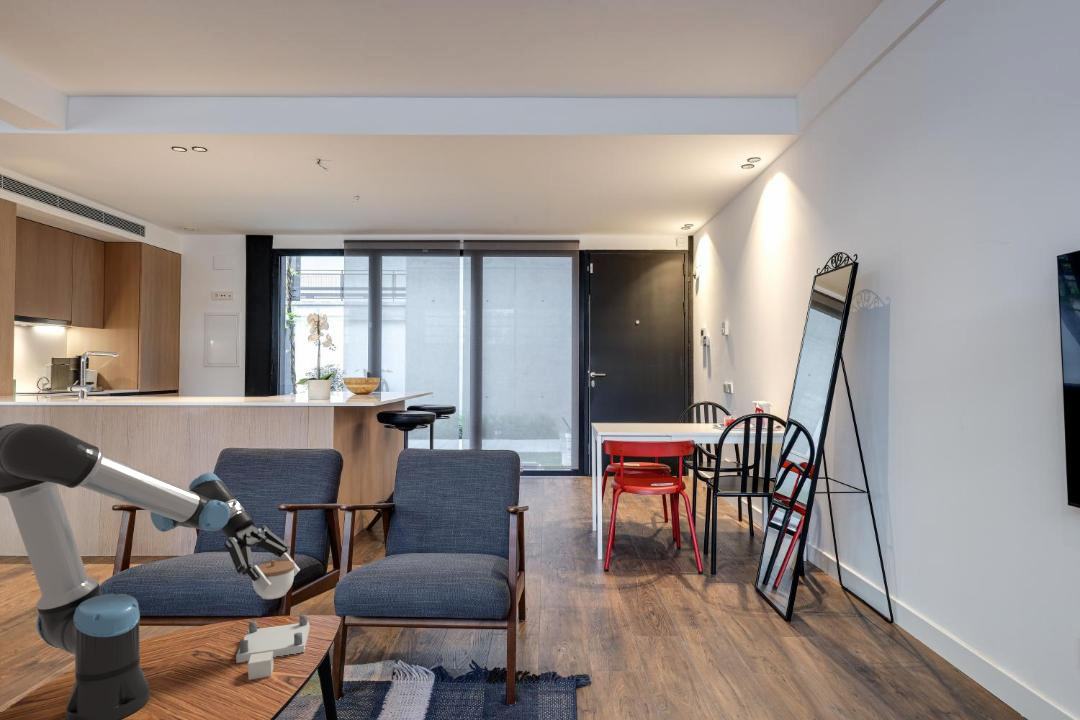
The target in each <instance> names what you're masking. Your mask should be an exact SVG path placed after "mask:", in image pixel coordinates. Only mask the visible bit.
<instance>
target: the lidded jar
mask: <svg viewBox="0 0 1080 720" xmlns="http://www.w3.org/2000/svg"><path fill="white" fill-rule="evenodd" d="M294 563H295V561H294V562H291V561H284V560H283V561H279V560H275V559H272V560H270V561H267V562H263V563H260V564H256V565H257V566H258V568H259V569H260V570H261V571H262V572H263V574H264V575H265V576H266V577H267V579H268V580H269V581H270V582H271V585H270V586H269V587H268V588H267V590H266V591H264V592H263V590H262V589H261V588H260V587H259V585H258V584H257V583H256V582H255V581H253V580H252V579H251V581H252V586H253V590H254V591H255V593H256V594H257V595H258V596H259V597H261V599H263V600H274V599H275V600H276V599H279V598H282V597H284V596H286V595H287V593H288V591H289V590H290V589H291V587H292V586H293V582H294V579H295V576H294V568H295V564H296V563H295V564H294Z"/></svg>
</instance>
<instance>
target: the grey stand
mask: <svg viewBox="0 0 1080 720" xmlns="http://www.w3.org/2000/svg"><path fill="white" fill-rule="evenodd" d="M298 617H299V619H298V620H299V623H291V624H285V625H284V624H283V625H276V626H269V627H263V628H262V627H260V628H258V621H257V620H251V621H249V622H248V630H247V632H246V634H245V635H244V637H243V640H241V641H240V642H238V643H239V644H238V645H239V648H238V651H237V653H236V655H235V656H236V658H235V659H236V664H239V663H240V664H241V663H247V662H249V660H250V657H251V655H252V654H258V653H264V652H271V651H273V657H274V658H277V657H276V656H281V657H284V656H283V655H288V656H290V655H289V654H294V655H297V654H296V653H301V652H304V653H305V651H304V650H306V647H305V645H306V646H307V642H306V641H308V638H307V637H309V634H308V633H309V632H310V629H311V628H310V622H309V621H308V615H307V614H305V613H304V614H300V615H298ZM301 654H302V653H301ZM246 661H247V662H246Z"/></svg>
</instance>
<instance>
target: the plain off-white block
mask: <svg viewBox="0 0 1080 720" xmlns="http://www.w3.org/2000/svg"><path fill="white" fill-rule="evenodd" d="M274 666H275V665H274V658H273V651H271V652H264V653H258V654H252V655H251V657H250V660H249V661H248V662H247V669H248V670H247V672H248V675H247V676H248V680H249V681H251V680H256V679H261V678H262V679H263V678H267V677H272V675H273V670H274Z"/></svg>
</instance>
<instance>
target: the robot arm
mask: <svg viewBox="0 0 1080 720" xmlns="http://www.w3.org/2000/svg"><path fill="white" fill-rule="evenodd" d="M58 485H61V486H64V487H67V488H69V489H74V488H78V487H82V488H85V489H87V490H90V491H93V492H96V493H97V494H101V495H104V496H107V497H108V498H112V499H115V500H116V501H117V500H118V501H121V502H123V503H127V504H128V505H131V506H134V507H137V508H139V509H143V510H146V511H148V512H150V514H149V515H150V520H151V522H152V524H153V526H154V528H156V529H157V531H160V532H163V533H165V532H169V531H170V530H174V529H175V528H177V527H183V528H187V529H189V528H191V529H197V530H202V531H205V532H216V531H219V530H221V531H222V533H223V534H224V535H225V536H226V538H227V540H226V541H225V542H224V543H223V545H224V547H225V548H226V550H228V552H229V555H230V557H231V560H232V562H233V566H234V568H235V570H236V572H237V573H238V574H242V575H243V576H246V575H248V576H249V577H250V579H251V581H252V580H253V581H255V582H256V583H257V584H258V585H259V587H260V588H261V589H262V590H263V592H264V591H266V590H267V588H268V587H269V586H270V585H271V582H270V581H269V580H268V579H267V577H266V576H265V575H264V574H263V572H262V571H261V570H260V569H259V568H258V566H257V565H258V564H255V565H254V563H253V556H252V550H251V549H252V548H254V547H256V548H262V549H263V550H265V551H267V552H269V553H271V554H273V555H275V556H277V557H279V558H278V561H283V560H284V561H291V562H294V564H295V568H294V577H295V576H296V575H297V574H298V573H299V572H300V571H301V568H300V567H299V566H298V565H297V564H296V562H295V561H294V559H293V557H292V556H291V555H290V554H289V553H288V552H289V550H290V549H291V546H290V545H289V544H288V543H286V542H285V541H284V540H283V539H281V538H280V537H279V536H278V535H276V534H274V533H273V532H272V531H271V530H270V529H269V528H268V527H267V526H266V525H262V527H261V528H258V527H256V526H255V524H254V523H255V522H254V521H255V520H254V518H252V516H251V515H250V514H249V513H248V512H247V511H245V508H244V507H243V506H242V504H241V503H240V502H239V501H238V500H237V499H236V497H235V496H234V494H233V493H232V492H231V491H230V489H229V488H228V486H226V485H225V483H224V482H223V481H222V480H221V479H220V478H219V476H217V475H216V473H214V472H206V473H203V474H202V473H201V474H200V475H199V476H198V477H195V478H194V479H193V480H192V481H191V483H189V486H188V489H187V488H184V487H182V486H179V485H176V484H174V483H172V482H170V481H167V480H164V479H162V478H160V477H158V476H156V475H153V474H151V473H148V472H146V471H143V470H141V469H138V468H135V467H134V466H131V465H128V464H125V463H124V462H121V461H118V460H117V459H114V458H112V457H109V456H107V455H105V454H102V452H101V449H100V447H98V446H96V445H93V444H91V443H89V442H86V441H85V440H82V439H80V438H78V437H76V436H75V435H72V434H70V433H67V432H66V431H64V430H61V429H60V428H57V427H54V426H52V425H48V424H41V423H40V424H37V423H35V424H33V423H32V424H29V423H24V422H22V423H21V422H15V423H11V424H4V425H0V496H1V497H2V496H3V497H6V498H7V499H8V503H9V506H10V508H11V510H12V511H11V512H12V513H13V516H14V519H15V523H16V525H17V528H18V530H19V533H20V536H21V539H22V542H23V545H24V548H25V551H26V553H27V557H28V559H29V563H30V565H31V568H32V570H33V573H34V576H35V579H36V582H37V584H38V588H39V590H40V594H41V596H40V598H39V599H38V600H37V602H36V606H35V607H36V609H37V611H38V615H37V619H36V631H37V633H38V635H39V637H40V638H41V639H42V640H43V642H44V643H46V644H48V645H49V646H51V647H54V648H55V649H60V650H63V651H65V652H68V653H70V654H73V655H74V659H75V661H74V667H75V669H74V670H75V673H74V674H75V681H74V685H73V687H72V691H71V692H70V697H69V699H68V702H67V705H66V707H65V708H66V709H65V720H121V719H123V718H126V717H128V716H130V715H132V714H134V713H136V712H137V711H139V710H141V708H143V707H144V706H146V704H147V703H148V702H149V700H150V698H151V696H150V695H151V694H150V691H151V690H150V685H149V682H148V680H147V678H146V676H145V674H144V670H143V669H142V666H141V661H140V660H141V659H140V658H141V657H140V651H141V650H140V649H141V647H140V618H141V614H140V613H141V611H140V609H139V603H138V600H137V599H136V598H135V597H134V596H132V595H130V594H125V593H118V594H116V593H106V594H103V593H102V589H101V587H100V583H99V581H98V579H96V578H92V577H89V576H88V574H87V572H86V568H85V565H84V562H83V559H82V556H81V553H80V550H79V548H78V543H77V541H76V538H75V535H74V532H73V529H72V526H71V523H70V520H69V517H68V514H67V511H66V509H65V505H64V501H63V500H62V496H61V493H60V491H59V487H58Z"/></svg>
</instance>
